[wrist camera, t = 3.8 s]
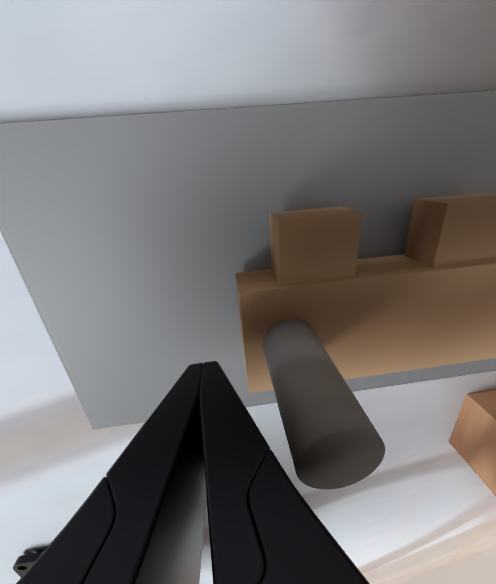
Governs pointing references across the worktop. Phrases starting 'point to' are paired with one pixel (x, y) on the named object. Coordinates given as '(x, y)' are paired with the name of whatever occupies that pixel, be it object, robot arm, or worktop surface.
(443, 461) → the worktop surface
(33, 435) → the worktop surface
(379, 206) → the base plate
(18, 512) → the worktop surface
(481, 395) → the yellow-striped wooden block
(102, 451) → the worktop surface
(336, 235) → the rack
